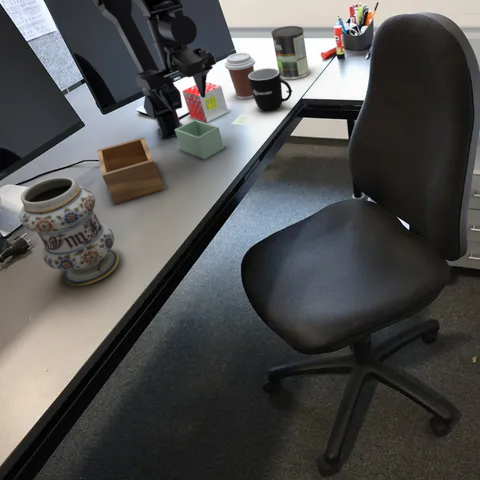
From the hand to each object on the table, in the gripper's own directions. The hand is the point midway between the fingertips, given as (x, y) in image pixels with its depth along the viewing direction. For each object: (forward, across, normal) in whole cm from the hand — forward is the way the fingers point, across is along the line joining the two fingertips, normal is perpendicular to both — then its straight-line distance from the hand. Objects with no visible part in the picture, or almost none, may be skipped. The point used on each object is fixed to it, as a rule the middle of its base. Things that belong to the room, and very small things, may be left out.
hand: (188, 104), depth 119 cm
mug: (+13, +28, +2) cm, 31 cm away
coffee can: (+12, +51, +16) cm, 55 cm away
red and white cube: (+12, +15, +17) cm, 26 cm away
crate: (+13, -19, +2) cm, 23 cm away
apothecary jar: (+14, -42, -19) cm, 48 cm away
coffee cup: (+12, +31, +17) cm, 37 cm away
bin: (+13, 0, 0) cm, 13 cm away
